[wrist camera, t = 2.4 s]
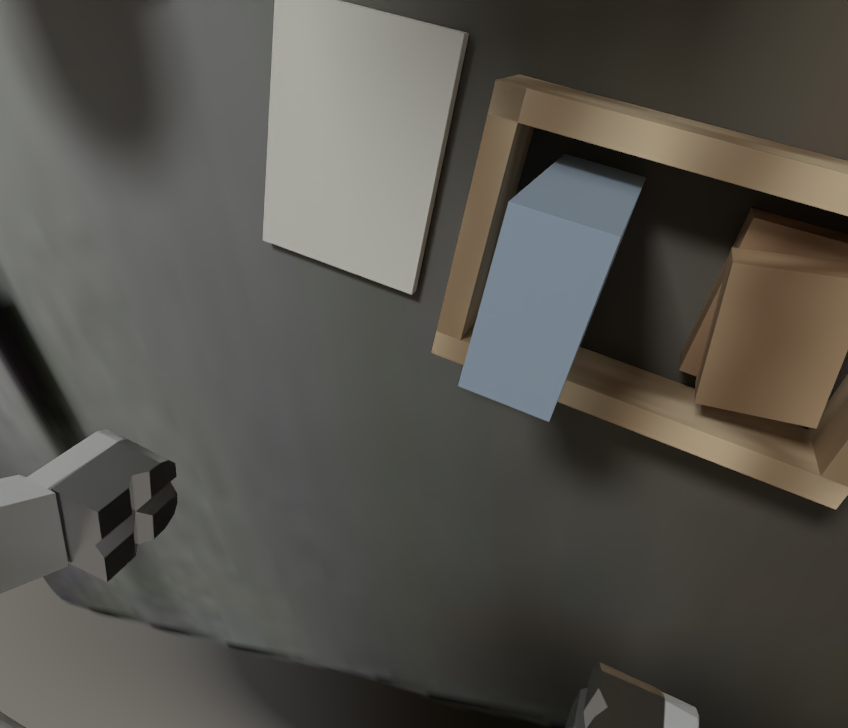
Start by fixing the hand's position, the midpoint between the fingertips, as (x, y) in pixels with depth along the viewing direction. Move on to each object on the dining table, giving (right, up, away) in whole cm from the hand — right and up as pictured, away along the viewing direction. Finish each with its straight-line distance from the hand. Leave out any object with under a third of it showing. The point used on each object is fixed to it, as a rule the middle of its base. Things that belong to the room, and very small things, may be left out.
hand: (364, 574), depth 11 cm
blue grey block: (+8, +9, +17) cm, 21 cm away
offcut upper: (+15, +5, +14) cm, 21 cm away
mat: (-2, +14, +19) cm, 23 cm away
